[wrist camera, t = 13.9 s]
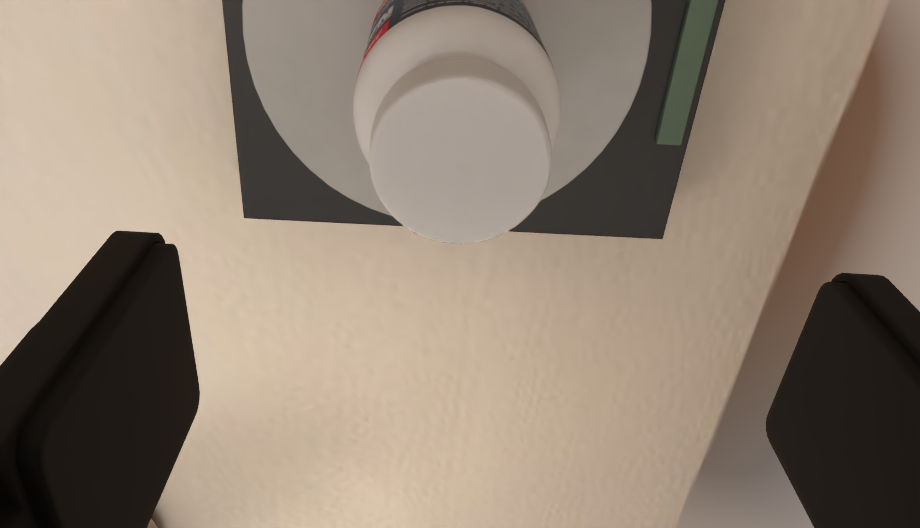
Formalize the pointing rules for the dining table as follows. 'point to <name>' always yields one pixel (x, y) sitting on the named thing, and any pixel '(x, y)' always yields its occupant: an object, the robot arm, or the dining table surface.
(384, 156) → the pill bottle
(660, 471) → the dining table surface
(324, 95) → the scale
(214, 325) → the dining table surface
